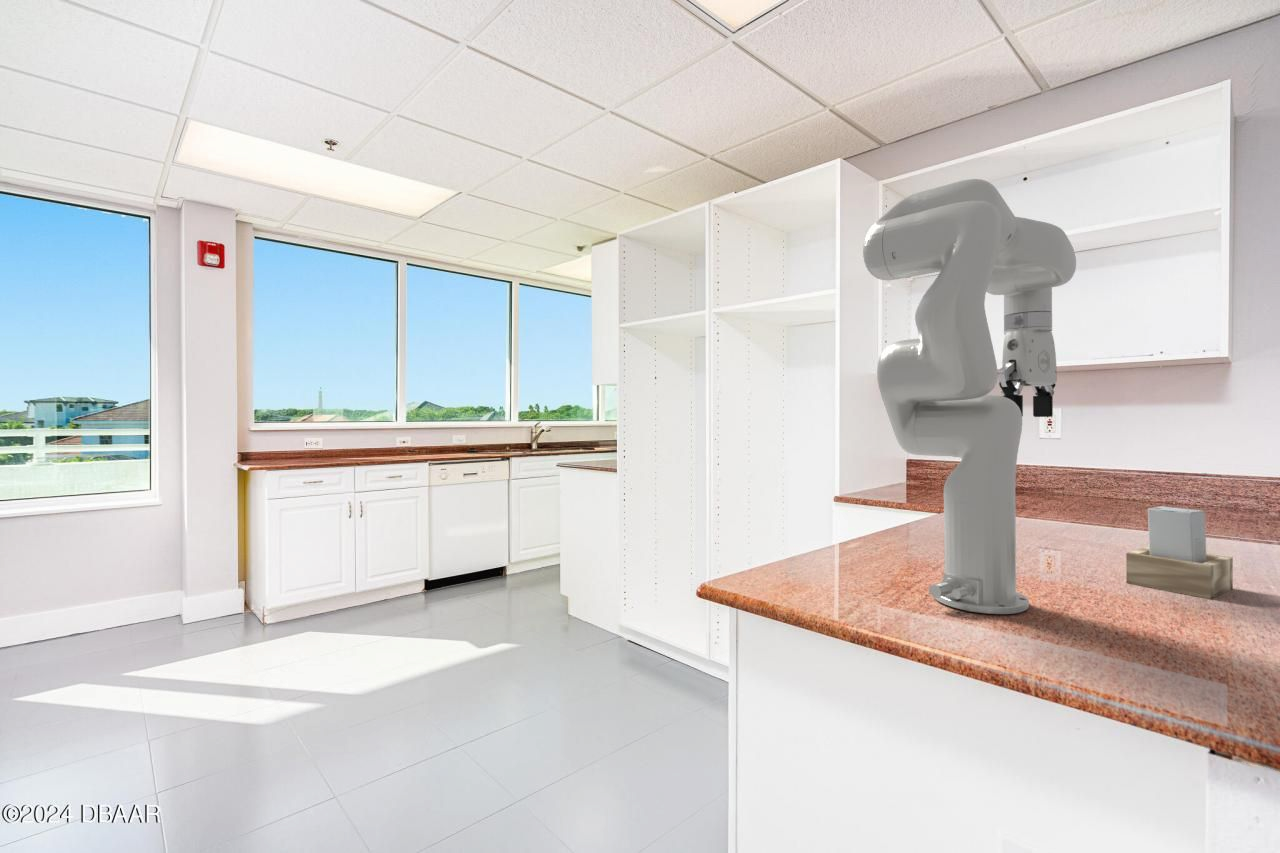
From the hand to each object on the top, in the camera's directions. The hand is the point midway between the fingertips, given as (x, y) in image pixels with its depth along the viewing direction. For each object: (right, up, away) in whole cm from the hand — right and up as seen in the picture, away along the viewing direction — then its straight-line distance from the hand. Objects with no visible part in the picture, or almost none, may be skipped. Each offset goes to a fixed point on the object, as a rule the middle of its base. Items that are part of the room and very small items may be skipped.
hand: (1028, 417), depth 111 cm
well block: (+15, -28, -14) cm, 35 cm away
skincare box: (+15, -27, -14) cm, 34 cm away
